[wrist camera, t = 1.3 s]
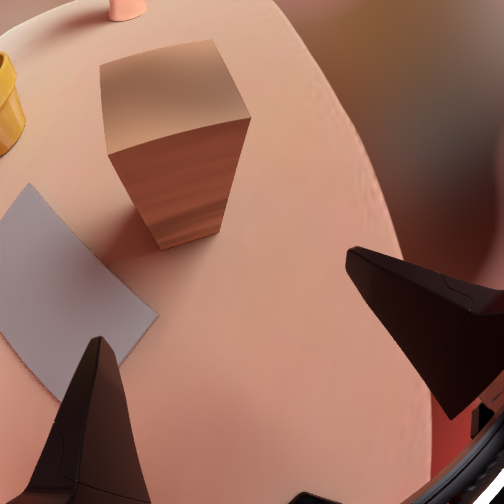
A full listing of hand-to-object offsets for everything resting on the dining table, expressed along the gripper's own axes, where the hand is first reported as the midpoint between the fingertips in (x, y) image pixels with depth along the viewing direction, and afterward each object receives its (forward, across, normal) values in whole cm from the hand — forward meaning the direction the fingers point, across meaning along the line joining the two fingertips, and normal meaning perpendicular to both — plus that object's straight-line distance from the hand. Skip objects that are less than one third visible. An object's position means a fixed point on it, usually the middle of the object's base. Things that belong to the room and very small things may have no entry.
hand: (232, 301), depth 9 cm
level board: (+13, +14, +6) cm, 20 cm away
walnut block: (+15, 0, +4) cm, 16 cm away
